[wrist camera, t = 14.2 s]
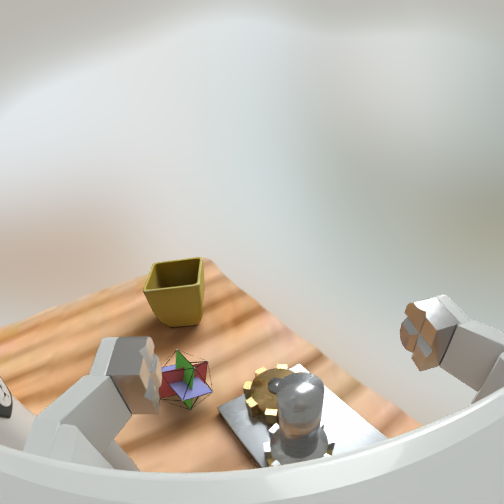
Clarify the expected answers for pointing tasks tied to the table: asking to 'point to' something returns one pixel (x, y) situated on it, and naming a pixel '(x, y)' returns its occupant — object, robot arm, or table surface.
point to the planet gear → (298, 422)
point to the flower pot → (176, 291)
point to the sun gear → (265, 392)
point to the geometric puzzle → (184, 380)
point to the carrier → (333, 415)
